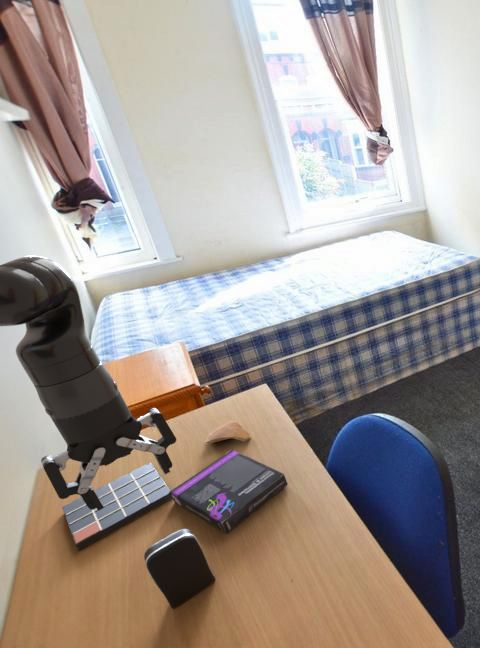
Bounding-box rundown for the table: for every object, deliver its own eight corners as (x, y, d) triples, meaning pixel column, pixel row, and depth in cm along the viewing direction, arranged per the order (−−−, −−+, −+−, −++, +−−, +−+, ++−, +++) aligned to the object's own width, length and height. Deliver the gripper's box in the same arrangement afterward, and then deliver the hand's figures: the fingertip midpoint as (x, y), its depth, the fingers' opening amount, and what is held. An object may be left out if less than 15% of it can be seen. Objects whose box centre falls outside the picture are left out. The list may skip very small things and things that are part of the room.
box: (174, 503, 98) (226, 536, 89) (167, 491, 97) (219, 522, 87) (237, 460, 109) (289, 485, 99) (232, 448, 108) (284, 472, 98)
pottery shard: (251, 440, 115) (248, 432, 114) (209, 456, 111) (205, 448, 110) (248, 420, 124) (245, 412, 123) (208, 434, 119) (204, 426, 118)
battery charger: (212, 568, 82) (187, 520, 78) (218, 580, 80) (193, 532, 75) (166, 597, 78) (137, 548, 73) (171, 612, 75) (142, 562, 71)
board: (79, 550, 89) (75, 544, 88) (65, 512, 99) (61, 506, 98) (174, 497, 100) (171, 491, 99) (153, 467, 109) (150, 461, 109)
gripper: (137, 369, 72) (178, 452, 78) (11, 418, 62) (70, 508, 69) (151, 383, 67) (194, 469, 74) (17, 438, 57) (80, 533, 64)
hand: (134, 488), depth 71 cm, fingers open, 8 cm apart
